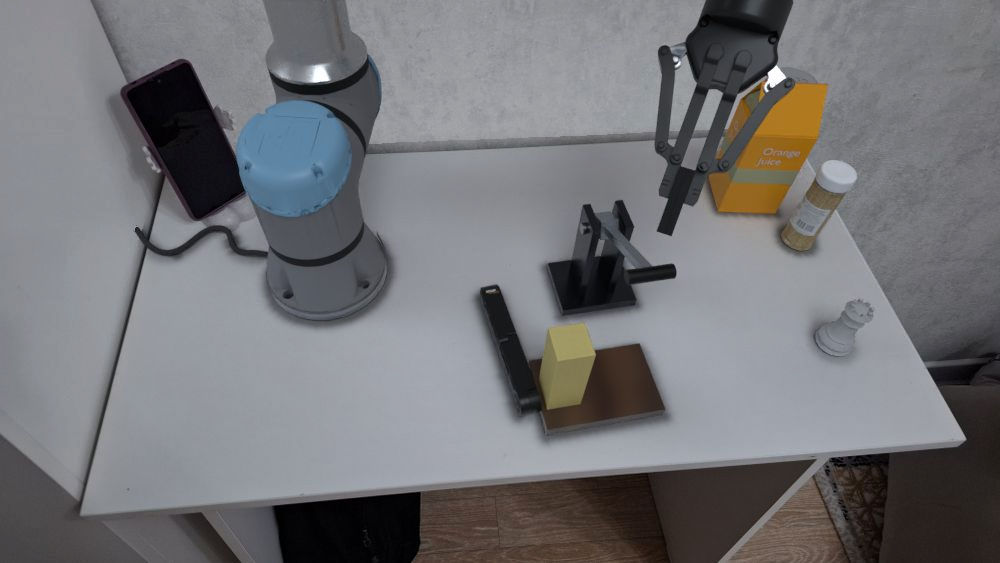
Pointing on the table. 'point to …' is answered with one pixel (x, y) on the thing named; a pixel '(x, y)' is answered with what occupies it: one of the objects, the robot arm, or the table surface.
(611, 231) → the arm
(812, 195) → the sprinkles bottle
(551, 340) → the butter
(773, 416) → the table surface
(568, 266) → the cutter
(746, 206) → the orange juice
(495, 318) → the black long bar
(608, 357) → the board
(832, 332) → the rook chess piece
